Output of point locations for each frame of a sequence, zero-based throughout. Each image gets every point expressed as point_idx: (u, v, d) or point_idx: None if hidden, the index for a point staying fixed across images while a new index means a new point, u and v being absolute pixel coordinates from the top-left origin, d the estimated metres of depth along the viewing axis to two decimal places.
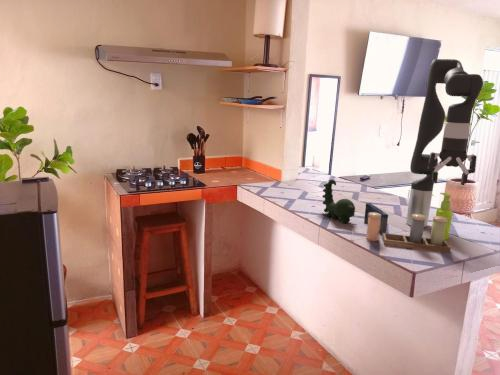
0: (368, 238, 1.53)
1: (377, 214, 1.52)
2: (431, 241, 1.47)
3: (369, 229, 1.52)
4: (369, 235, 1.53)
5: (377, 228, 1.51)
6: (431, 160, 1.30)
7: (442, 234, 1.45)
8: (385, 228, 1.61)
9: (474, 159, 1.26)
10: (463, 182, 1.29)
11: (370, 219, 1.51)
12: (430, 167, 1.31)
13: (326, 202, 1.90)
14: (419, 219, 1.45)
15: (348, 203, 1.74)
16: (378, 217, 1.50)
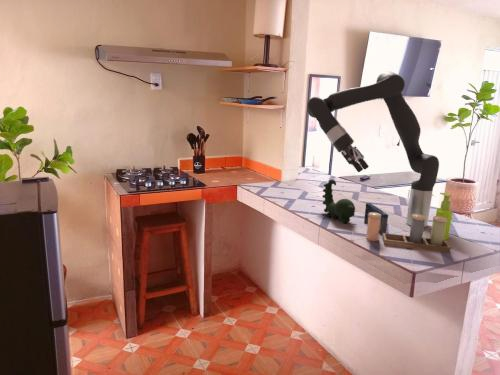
0: (368, 238, 1.53)
1: (377, 214, 1.52)
2: (431, 241, 1.47)
3: (369, 229, 1.52)
4: (369, 235, 1.53)
5: (377, 228, 1.51)
6: None
7: (442, 234, 1.45)
8: (385, 228, 1.61)
9: None
10: None
11: (370, 219, 1.51)
12: None
13: (326, 202, 1.90)
14: (419, 219, 1.45)
15: (348, 203, 1.74)
16: (378, 217, 1.50)
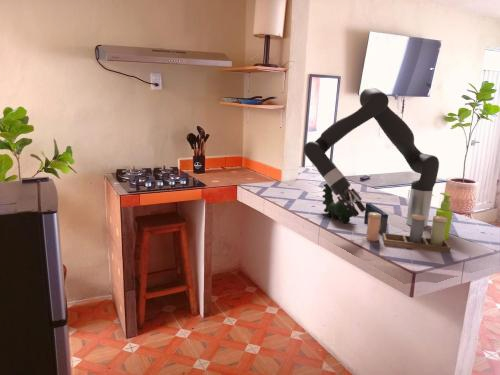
0: (368, 238, 1.53)
1: (377, 214, 1.52)
2: (431, 241, 1.47)
3: (369, 229, 1.52)
4: (369, 235, 1.53)
5: (377, 228, 1.51)
6: None
7: (442, 234, 1.45)
8: (385, 228, 1.61)
9: None
10: None
11: (370, 219, 1.52)
12: None
13: (326, 202, 1.90)
14: (419, 219, 1.45)
15: None
16: (378, 217, 1.50)
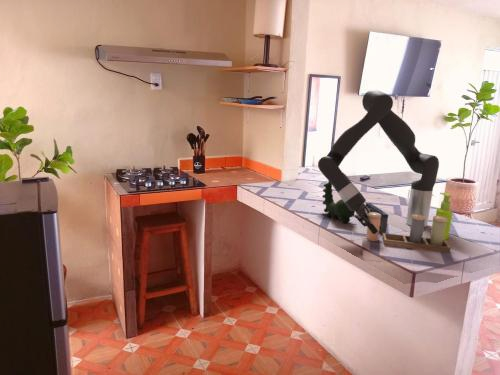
0: (368, 238, 1.53)
1: (377, 214, 1.52)
2: (431, 241, 1.47)
3: (369, 229, 1.52)
4: (369, 235, 1.53)
5: (377, 228, 1.51)
6: None
7: (442, 234, 1.45)
8: (385, 228, 1.61)
9: None
10: None
11: (370, 219, 1.52)
12: None
13: (326, 202, 1.90)
14: (419, 219, 1.45)
15: None
16: (378, 217, 1.50)
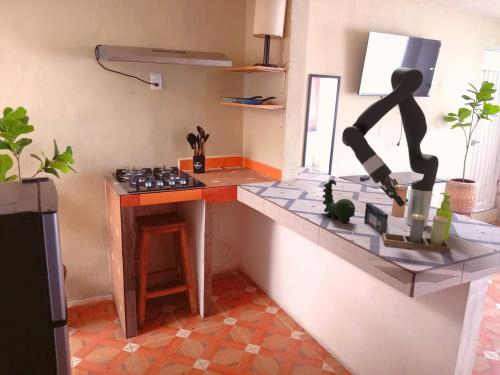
0: (394, 211, 1.48)
1: (404, 186, 1.46)
2: (431, 241, 1.47)
3: (395, 201, 1.47)
4: (395, 208, 1.47)
5: (404, 200, 1.46)
6: None
7: (442, 234, 1.45)
8: (385, 228, 1.61)
9: None
10: None
11: None
12: None
13: (326, 202, 1.90)
14: (419, 219, 1.45)
15: (348, 203, 1.74)
16: (405, 189, 1.44)
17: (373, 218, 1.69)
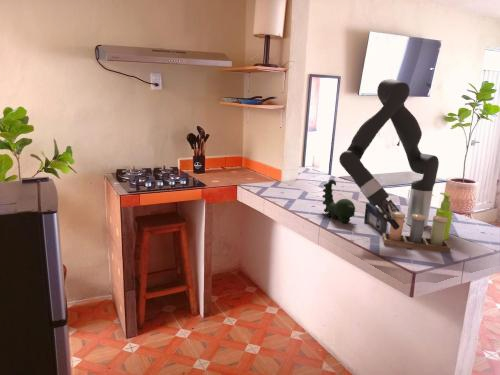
0: (391, 238, 1.50)
1: (401, 213, 1.48)
2: (431, 241, 1.47)
3: (392, 229, 1.49)
4: (392, 235, 1.49)
5: (400, 228, 1.48)
6: None
7: (442, 234, 1.45)
8: (385, 228, 1.61)
9: None
10: None
11: (394, 218, 1.48)
12: None
13: (326, 202, 1.90)
14: (419, 219, 1.45)
15: (348, 203, 1.74)
16: (402, 217, 1.47)
17: (373, 218, 1.69)
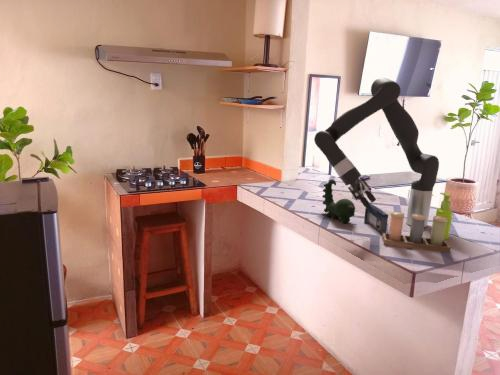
0: (390, 238, 1.50)
1: (400, 213, 1.49)
2: (431, 241, 1.47)
3: (392, 229, 1.49)
4: (392, 235, 1.49)
5: (400, 228, 1.48)
6: None
7: (442, 234, 1.45)
8: (385, 228, 1.61)
9: None
10: None
11: (393, 218, 1.48)
12: None
13: (326, 202, 1.90)
14: (419, 219, 1.45)
15: (348, 203, 1.74)
16: (401, 216, 1.47)
17: (373, 218, 1.69)
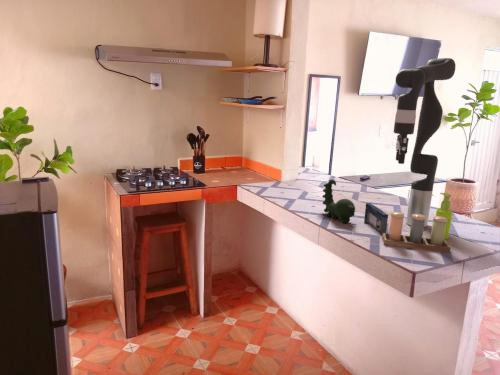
0: (390, 238, 1.50)
1: (400, 213, 1.49)
2: (431, 241, 1.47)
3: (392, 229, 1.49)
4: (392, 235, 1.49)
5: (400, 228, 1.48)
6: None
7: (442, 234, 1.45)
8: (385, 228, 1.61)
9: (401, 141, 1.47)
10: (398, 160, 1.51)
11: (393, 218, 1.48)
12: (396, 146, 1.60)
13: (326, 202, 1.90)
14: (419, 219, 1.45)
15: (348, 203, 1.74)
16: (401, 216, 1.47)
17: (373, 218, 1.69)
